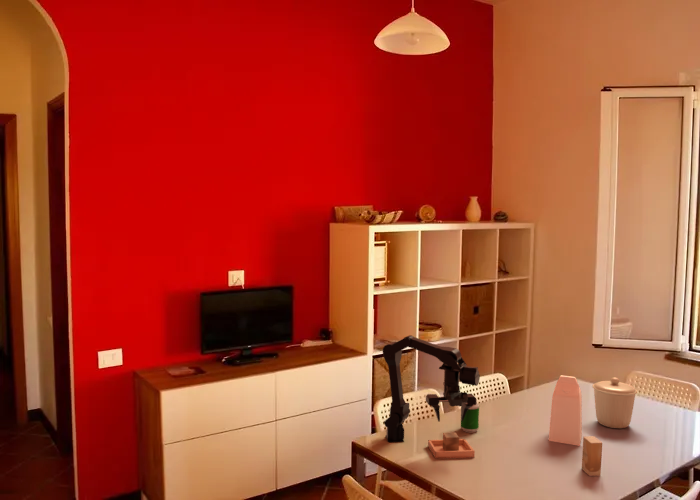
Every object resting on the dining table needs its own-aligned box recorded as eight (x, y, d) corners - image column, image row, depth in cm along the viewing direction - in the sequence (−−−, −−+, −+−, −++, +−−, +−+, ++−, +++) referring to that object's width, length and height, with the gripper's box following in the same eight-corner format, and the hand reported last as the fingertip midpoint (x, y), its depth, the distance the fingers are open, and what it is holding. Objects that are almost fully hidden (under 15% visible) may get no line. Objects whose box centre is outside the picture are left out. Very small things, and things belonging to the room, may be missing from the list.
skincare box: (581, 468, 217) (582, 435, 216) (592, 468, 217) (593, 435, 216) (589, 476, 210) (591, 442, 210) (601, 476, 211) (602, 442, 210)
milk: (581, 436, 249) (584, 375, 247) (579, 445, 238) (582, 382, 237) (551, 431, 254) (553, 371, 252) (548, 440, 244) (550, 378, 242)
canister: (590, 428, 258) (592, 380, 257) (591, 415, 275) (592, 370, 274) (637, 434, 252) (639, 385, 250) (634, 420, 268) (636, 374, 267)
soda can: (478, 434, 250) (479, 406, 249) (460, 432, 251) (461, 404, 250) (478, 427, 257) (479, 400, 256) (460, 426, 258) (461, 399, 258)
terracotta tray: (435, 458, 224) (435, 452, 224) (428, 446, 236) (428, 440, 236) (474, 457, 225) (474, 451, 225) (464, 445, 237) (465, 439, 237)
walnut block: (445, 452, 228) (446, 437, 227) (442, 447, 233) (442, 432, 232) (458, 452, 228) (459, 437, 228) (455, 447, 233) (455, 432, 233)
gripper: (432, 388, 221) (431, 429, 222) (481, 387, 223) (480, 428, 223) (425, 379, 232) (424, 418, 233) (472, 379, 234) (471, 417, 235)
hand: (450, 421), depth 230 cm, fingers open, 9 cm apart
